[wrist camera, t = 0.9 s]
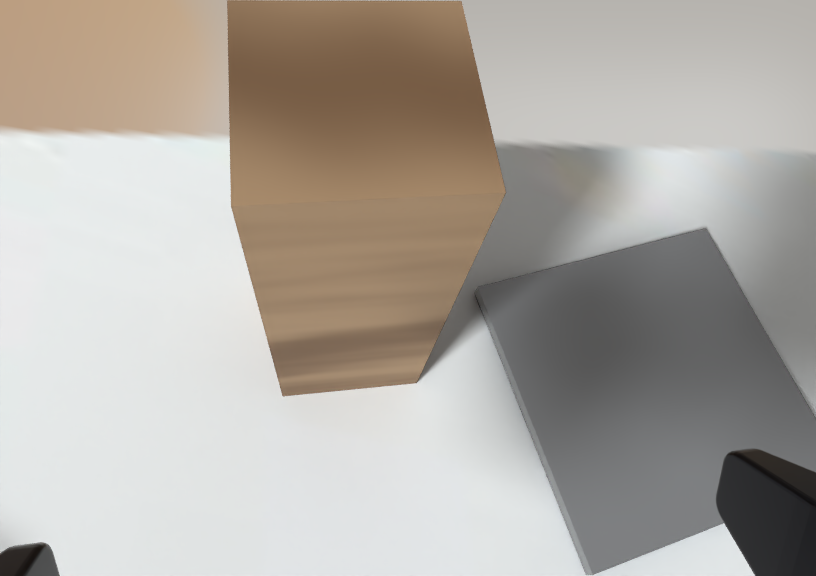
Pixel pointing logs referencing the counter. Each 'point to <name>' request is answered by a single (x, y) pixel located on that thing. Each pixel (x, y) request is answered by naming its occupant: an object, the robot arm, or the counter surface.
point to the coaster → (643, 389)
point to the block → (357, 181)
